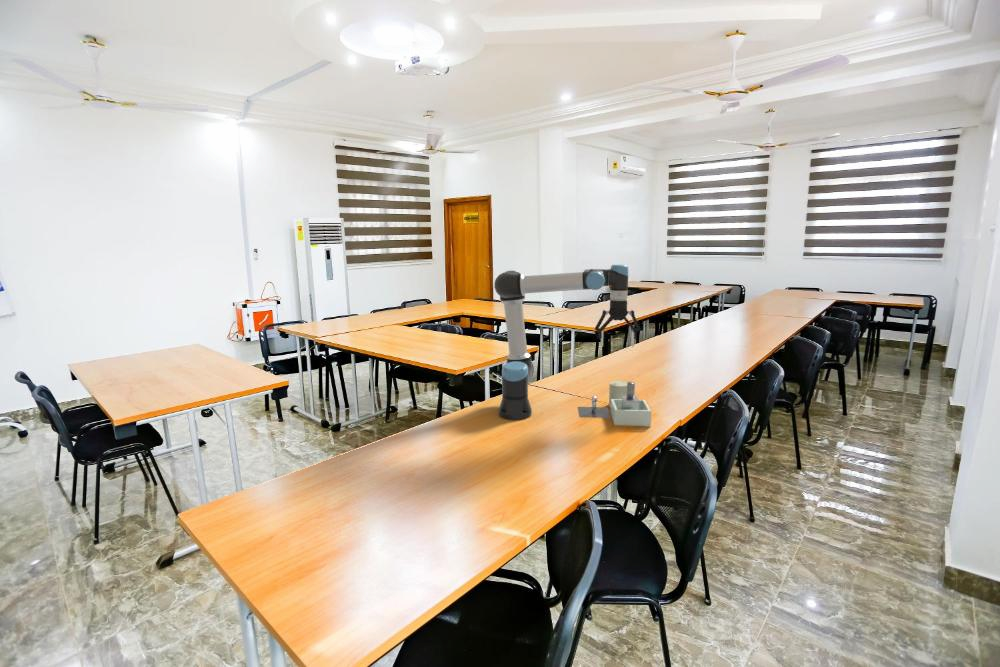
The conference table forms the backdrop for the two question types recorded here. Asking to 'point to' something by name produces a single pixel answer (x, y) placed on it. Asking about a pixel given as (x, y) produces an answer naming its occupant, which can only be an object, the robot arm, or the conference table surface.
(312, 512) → the conference table surface
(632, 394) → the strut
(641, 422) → the bin
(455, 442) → the conference table surface
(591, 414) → the stud plate
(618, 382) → the can
